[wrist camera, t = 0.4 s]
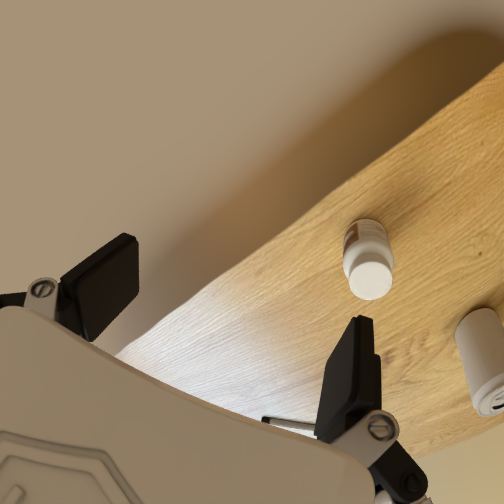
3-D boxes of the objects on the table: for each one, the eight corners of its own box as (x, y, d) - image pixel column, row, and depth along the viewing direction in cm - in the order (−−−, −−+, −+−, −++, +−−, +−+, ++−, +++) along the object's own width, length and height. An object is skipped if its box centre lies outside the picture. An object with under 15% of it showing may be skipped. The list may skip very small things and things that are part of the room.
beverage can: (462, 351, 29) (480, 426, 19) (446, 323, 28) (467, 405, 18) (501, 325, 26) (530, 397, 16) (488, 294, 25) (525, 370, 15)
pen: (262, 414, 46) (260, 420, 45) (355, 426, 42) (354, 433, 41) (262, 418, 47) (260, 424, 46) (353, 430, 42) (352, 436, 41)
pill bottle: (343, 217, 27) (342, 255, 20) (388, 217, 26) (402, 255, 19) (343, 258, 29) (341, 305, 22) (385, 259, 27) (395, 305, 21)
